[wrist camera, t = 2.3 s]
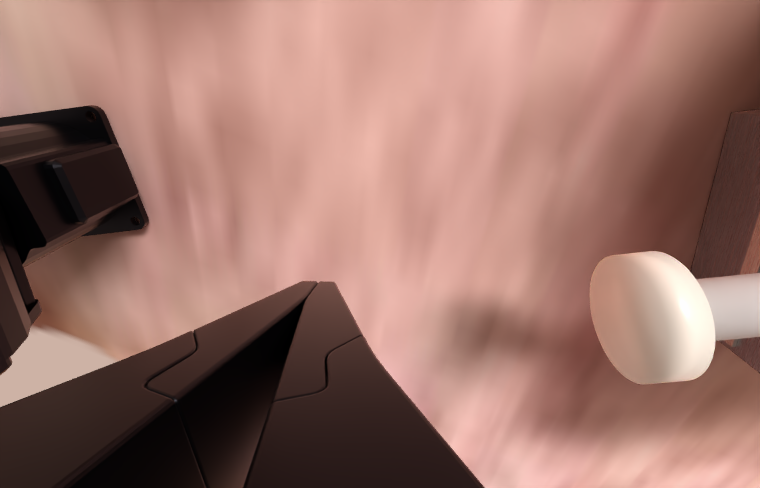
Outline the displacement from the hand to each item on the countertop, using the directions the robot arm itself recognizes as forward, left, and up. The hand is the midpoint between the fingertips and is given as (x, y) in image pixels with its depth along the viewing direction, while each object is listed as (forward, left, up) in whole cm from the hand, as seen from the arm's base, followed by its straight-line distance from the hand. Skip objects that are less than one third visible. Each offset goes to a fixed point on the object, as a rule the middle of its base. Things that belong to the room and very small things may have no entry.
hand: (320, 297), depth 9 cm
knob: (+17, -5, -7) cm, 19 cm away
